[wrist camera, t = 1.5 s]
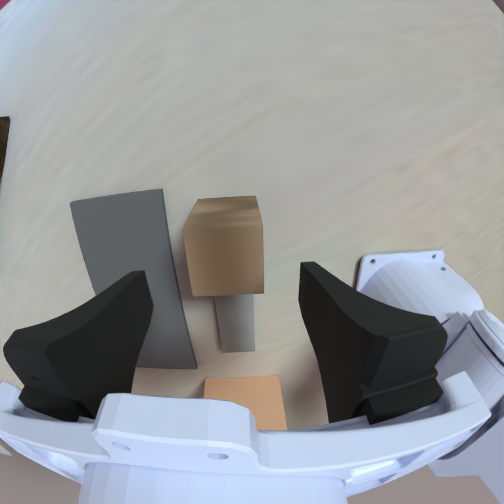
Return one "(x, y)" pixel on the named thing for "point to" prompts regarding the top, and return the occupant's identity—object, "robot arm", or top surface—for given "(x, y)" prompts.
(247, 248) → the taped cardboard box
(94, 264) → the tool mat
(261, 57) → the top surface
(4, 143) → the hand tool
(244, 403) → the tile
